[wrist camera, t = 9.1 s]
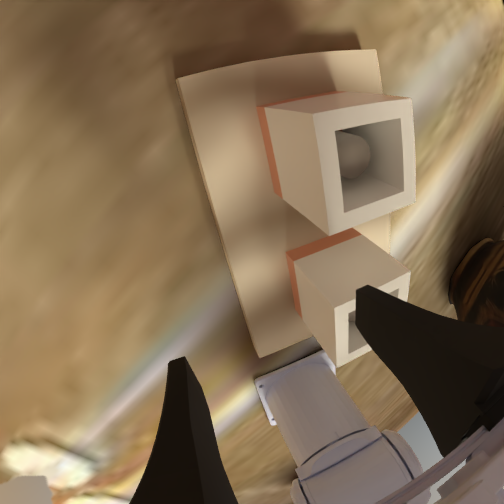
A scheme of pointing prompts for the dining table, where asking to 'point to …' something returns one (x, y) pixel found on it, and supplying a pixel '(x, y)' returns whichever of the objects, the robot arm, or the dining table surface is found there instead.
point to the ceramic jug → (480, 285)
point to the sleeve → (326, 156)
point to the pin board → (269, 176)
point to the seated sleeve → (341, 288)
